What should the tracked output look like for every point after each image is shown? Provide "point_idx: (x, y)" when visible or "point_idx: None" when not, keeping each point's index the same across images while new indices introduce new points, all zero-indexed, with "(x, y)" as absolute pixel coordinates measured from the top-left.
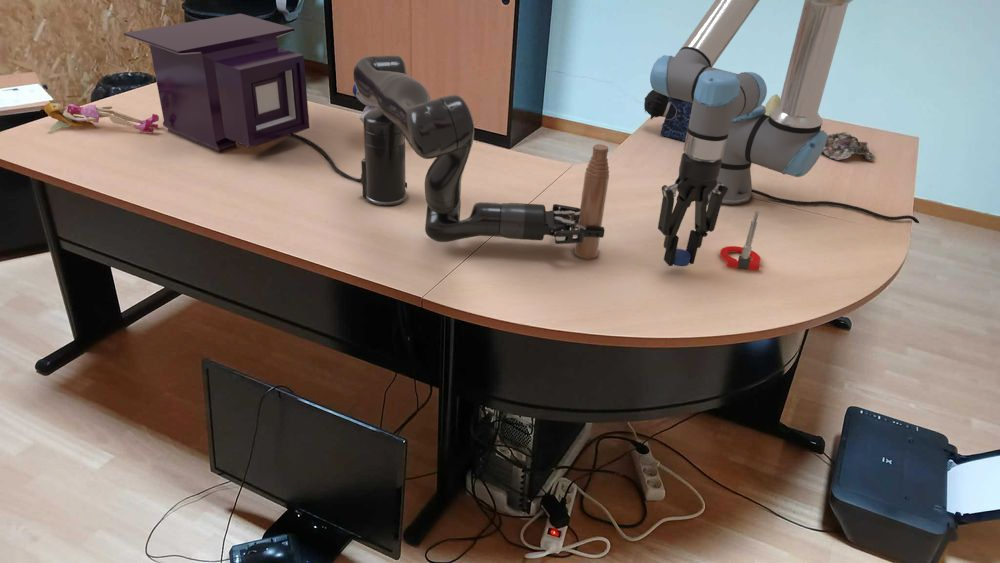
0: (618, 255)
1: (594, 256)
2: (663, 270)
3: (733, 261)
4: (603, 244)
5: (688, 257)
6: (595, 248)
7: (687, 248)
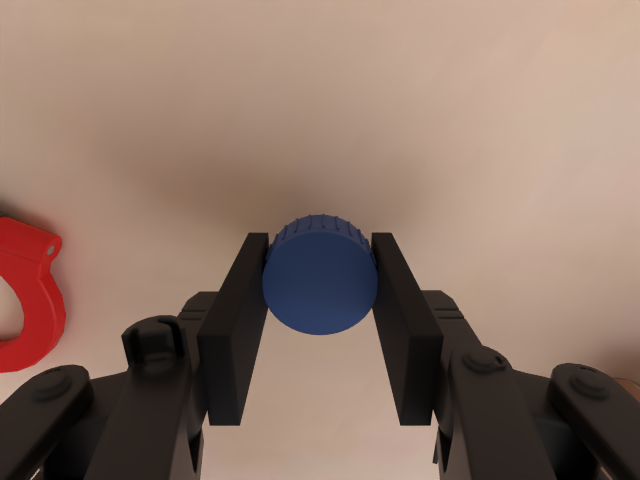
0: None
1: None
2: None
3: (13, 243)
4: None
5: (293, 240)
6: None
7: (262, 319)
